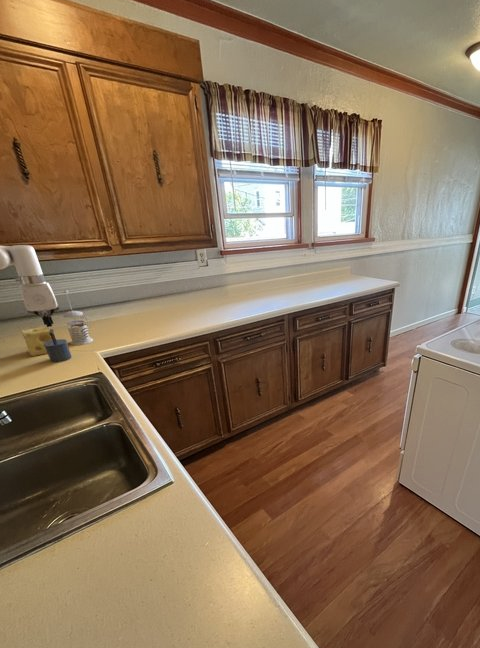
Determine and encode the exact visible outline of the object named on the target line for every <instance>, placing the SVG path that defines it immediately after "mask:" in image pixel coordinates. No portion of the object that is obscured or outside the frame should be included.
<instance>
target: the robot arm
mask: <svg viewBox="0 0 480 648" xmlns="http://www.w3.org/2000/svg"><path fill="white" fill-rule="evenodd" d="M10 266H14V267H15V269H16V272H17V273H16V274H17V275H18V277H15V278H14V280H15V282H16V283H20V284H19V290H20V294H21V298H22V300H23V304H24V307H25V309H26V313H27V314H28V315H29V314H30V315H36V316H38V317H40V318H41V319H42V322H43V324H44V326H47V327H48V328H49V327H51V328H52V327H53V325H54V321H53V318H52V316H53V314H54V313H55V312H57V311H60V310H61V308H60V305H59V304H58V300H57V298H56V295H55V294H54V291H53V289H52V287H51V285H50V283H49V282H47V281H46V278H45V276H44V273H43V271H42V267H41V265H40V261H39V258H38V256H37V253H36V250H35V248H34V247H33V245H29V244H14V245H0V270H4V269H6V268H8V267H10ZM44 311H46V314H44Z"/></svg>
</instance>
